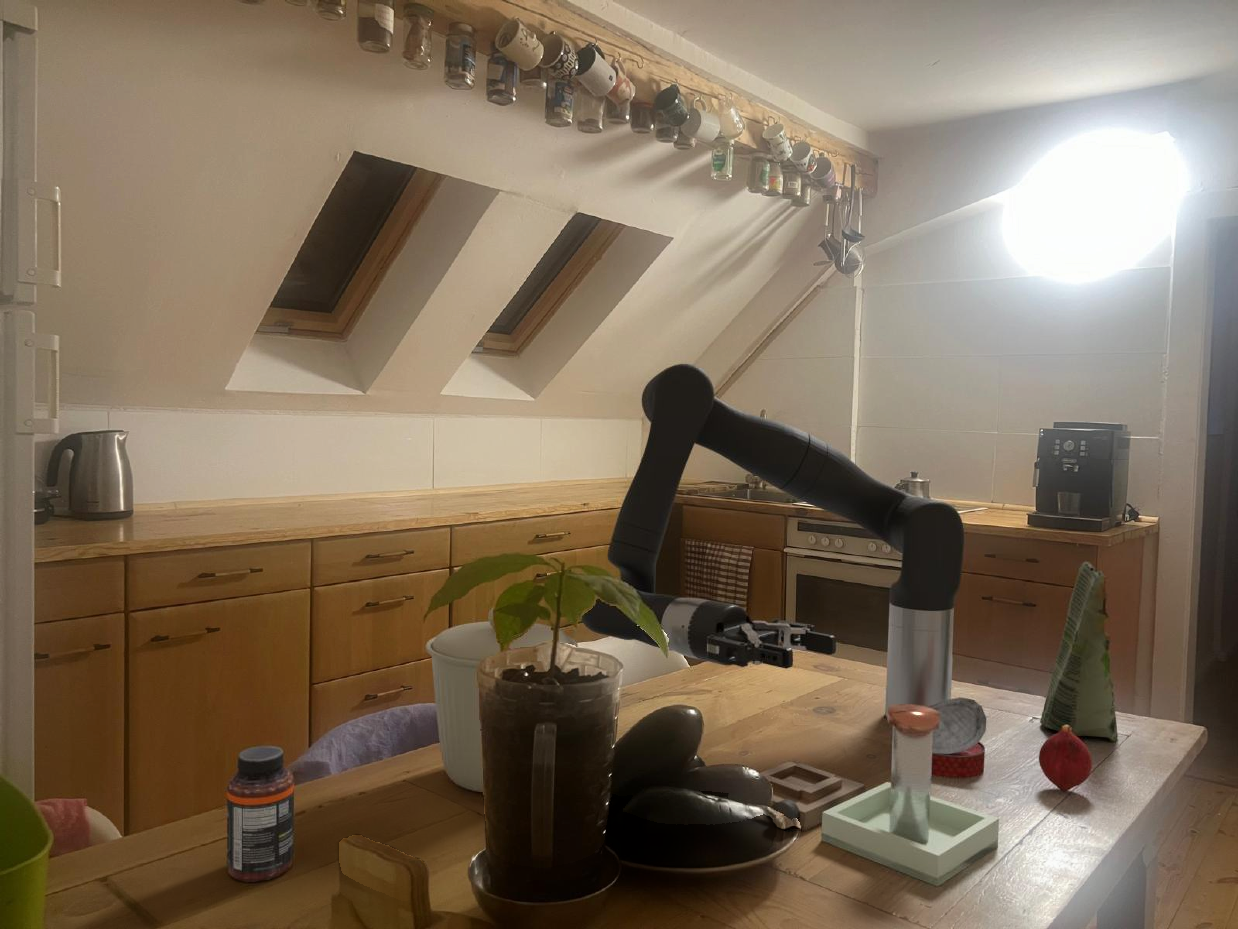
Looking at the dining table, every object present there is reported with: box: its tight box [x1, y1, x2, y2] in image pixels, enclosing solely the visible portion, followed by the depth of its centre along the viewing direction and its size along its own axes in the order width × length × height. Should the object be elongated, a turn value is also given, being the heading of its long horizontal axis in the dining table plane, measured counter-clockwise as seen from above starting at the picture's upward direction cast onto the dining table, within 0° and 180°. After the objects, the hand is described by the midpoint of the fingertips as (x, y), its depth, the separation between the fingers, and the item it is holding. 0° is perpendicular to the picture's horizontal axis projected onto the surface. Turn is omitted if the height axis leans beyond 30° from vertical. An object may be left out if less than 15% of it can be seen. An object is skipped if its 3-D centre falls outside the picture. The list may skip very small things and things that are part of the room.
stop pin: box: [886, 704, 940, 844], centre depth 98 cm, size 5×5×13 cm
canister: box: [425, 606, 578, 793], centre depth 113 cm, size 18×18×21 cm
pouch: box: [1039, 561, 1119, 742], centre depth 135 cm, size 11×12×25 cm
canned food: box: [928, 697, 987, 779], centre depth 122 cm, size 11×10×10 cm
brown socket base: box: [760, 760, 866, 832], centre depth 107 cm, size 14×10×3 cm
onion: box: [1038, 725, 1093, 792], centre depth 113 cm, size 6×6×8 cm
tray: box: [821, 781, 1000, 887], centre depth 98 cm, size 13×13×3 cm
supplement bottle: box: [226, 745, 295, 882], centre depth 88 cm, size 6×6×11 cm
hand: (813, 652), depth 107 cm, fingers open, 8 cm apart
